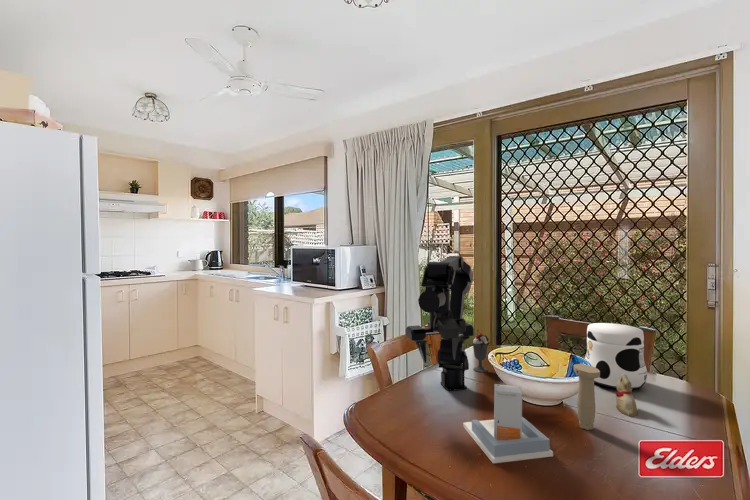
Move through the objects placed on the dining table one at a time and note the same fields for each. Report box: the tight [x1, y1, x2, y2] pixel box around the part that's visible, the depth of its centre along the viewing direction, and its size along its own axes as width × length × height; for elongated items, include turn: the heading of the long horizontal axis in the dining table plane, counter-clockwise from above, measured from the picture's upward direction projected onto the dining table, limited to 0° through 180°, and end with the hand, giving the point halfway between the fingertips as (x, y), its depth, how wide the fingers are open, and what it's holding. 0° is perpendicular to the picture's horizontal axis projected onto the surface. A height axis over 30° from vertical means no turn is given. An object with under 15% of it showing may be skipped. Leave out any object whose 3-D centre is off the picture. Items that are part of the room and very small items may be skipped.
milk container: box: [584, 322, 648, 390], centre depth 122 cm, size 17×17×18 cm
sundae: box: [470, 329, 491, 373], centre depth 136 cm, size 7×7×15 cm
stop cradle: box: [462, 416, 554, 464], centre depth 89 cm, size 16×14×4 cm
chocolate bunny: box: [615, 375, 638, 417], centre depth 104 cm, size 6×8×10 cm
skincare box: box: [493, 383, 523, 441], centre depth 88 cm, size 6×4×12 cm
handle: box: [573, 363, 600, 431], centre depth 94 cm, size 5×6×15 cm
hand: (440, 361), depth 107 cm, fingers open, 9 cm apart
